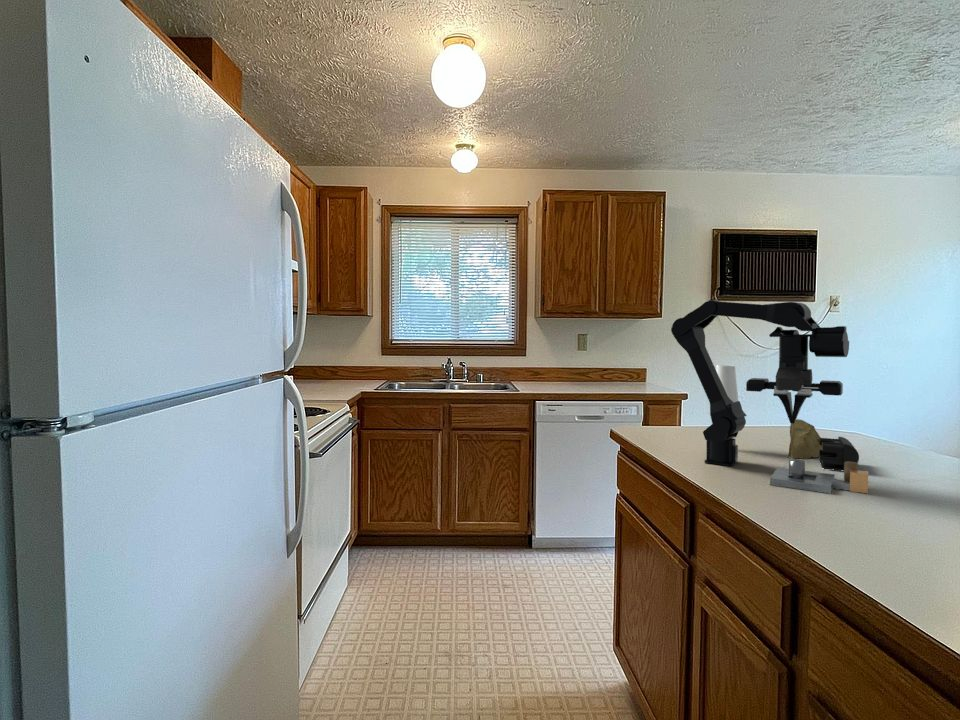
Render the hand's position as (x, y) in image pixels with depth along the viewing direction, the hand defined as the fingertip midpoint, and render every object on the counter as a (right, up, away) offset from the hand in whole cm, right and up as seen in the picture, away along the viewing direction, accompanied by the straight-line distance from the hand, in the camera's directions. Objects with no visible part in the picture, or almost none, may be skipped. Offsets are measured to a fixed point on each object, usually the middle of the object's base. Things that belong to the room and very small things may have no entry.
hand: (792, 423), depth 120 cm
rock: (+15, -11, +17) cm, 25 cm away
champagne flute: (-3, -11, +27) cm, 30 cm away
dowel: (+7, -12, -9) cm, 17 cm away
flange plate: (+1, -12, -9) cm, 15 cm away
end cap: (+15, -12, +7) cm, 20 cm away
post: (-3, -12, -7) cm, 15 cm away
